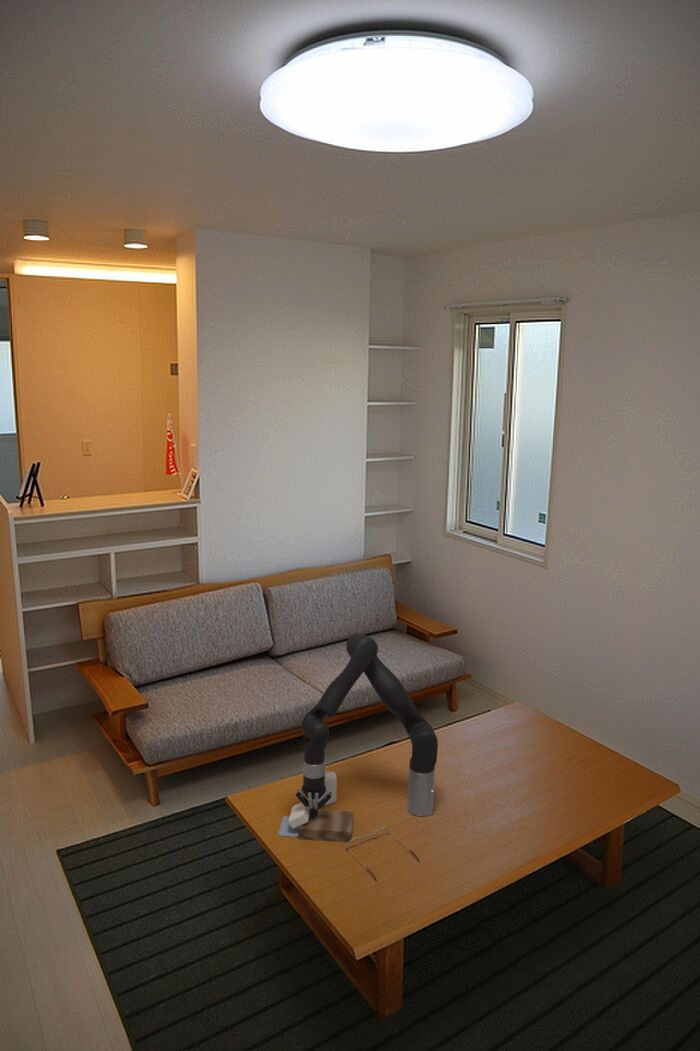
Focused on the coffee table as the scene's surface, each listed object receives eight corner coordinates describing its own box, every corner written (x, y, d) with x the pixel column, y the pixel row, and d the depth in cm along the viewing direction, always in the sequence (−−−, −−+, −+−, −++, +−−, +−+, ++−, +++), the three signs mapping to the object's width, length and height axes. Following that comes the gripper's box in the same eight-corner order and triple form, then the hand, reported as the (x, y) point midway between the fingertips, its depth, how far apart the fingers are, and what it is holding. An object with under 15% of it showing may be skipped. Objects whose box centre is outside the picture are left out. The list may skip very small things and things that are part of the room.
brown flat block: (353, 821, 272) (353, 811, 271) (351, 842, 260) (351, 832, 259) (303, 818, 273) (303, 808, 272) (299, 839, 261) (299, 828, 260)
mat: (302, 818, 273) (302, 817, 273) (298, 837, 262) (298, 836, 262) (283, 817, 274) (283, 816, 273) (278, 835, 263) (278, 835, 263)
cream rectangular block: (311, 806, 270) (307, 800, 270) (307, 822, 262) (303, 815, 261) (296, 813, 272) (292, 806, 271) (292, 828, 263) (288, 821, 262)
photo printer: (331, 796, 287) (332, 767, 284) (338, 802, 283) (338, 772, 281) (308, 804, 281) (308, 774, 279) (314, 810, 278) (314, 780, 275)
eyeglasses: (388, 833, 266) (388, 823, 265) (421, 865, 251) (421, 855, 250) (344, 850, 257) (345, 840, 256) (376, 884, 241) (376, 874, 240)
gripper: (334, 767, 265) (333, 811, 269) (296, 765, 266) (296, 809, 270) (332, 779, 258) (331, 824, 262) (293, 776, 259) (293, 821, 262)
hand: (313, 816), depth 266 cm, fingers closed
